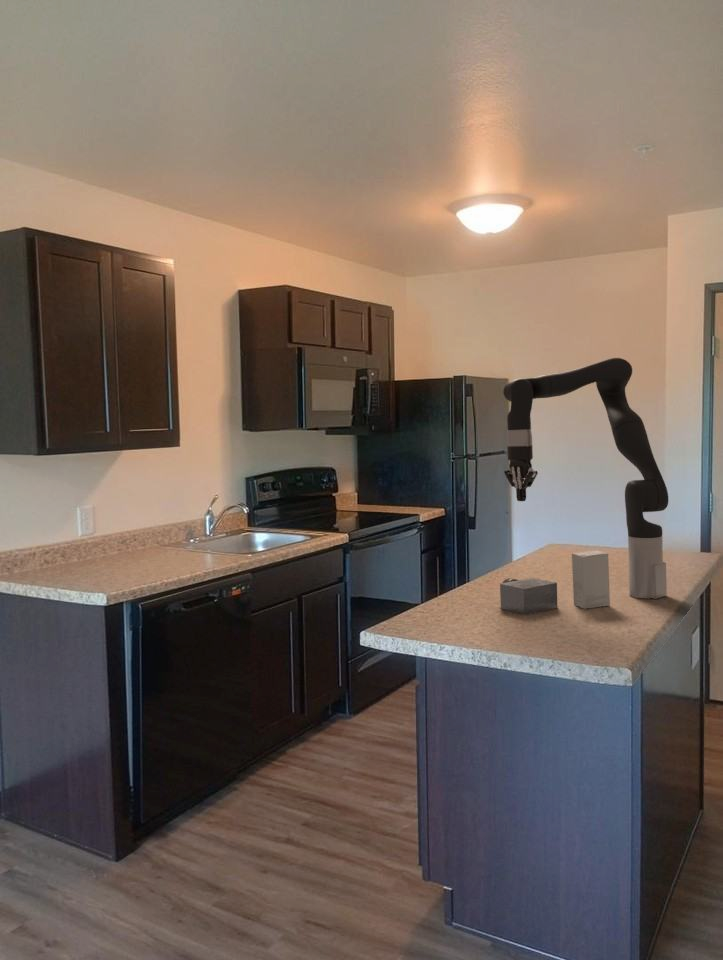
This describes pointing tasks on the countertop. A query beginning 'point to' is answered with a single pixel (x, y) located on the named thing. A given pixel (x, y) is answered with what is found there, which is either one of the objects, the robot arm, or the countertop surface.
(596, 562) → the skincare box
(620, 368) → the robot arm
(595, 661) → the countertop surface
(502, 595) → the block
